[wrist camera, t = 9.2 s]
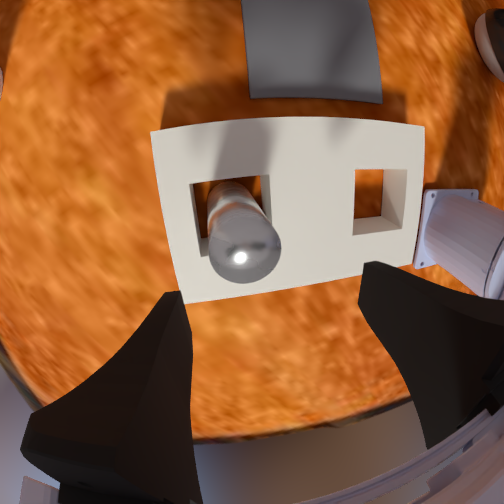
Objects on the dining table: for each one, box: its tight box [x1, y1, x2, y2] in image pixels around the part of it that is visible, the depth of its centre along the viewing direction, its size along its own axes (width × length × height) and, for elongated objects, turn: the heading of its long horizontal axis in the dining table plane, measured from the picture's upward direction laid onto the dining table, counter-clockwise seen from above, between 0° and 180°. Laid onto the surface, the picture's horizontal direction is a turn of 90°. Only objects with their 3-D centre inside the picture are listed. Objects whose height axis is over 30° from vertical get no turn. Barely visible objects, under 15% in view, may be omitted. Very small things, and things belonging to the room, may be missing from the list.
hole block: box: [150, 117, 425, 304], centre depth 17 cm, size 18×11×3 cm, turn 94°
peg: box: [207, 181, 281, 284], centre depth 15 cm, size 3×3×8 cm
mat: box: [241, 0, 383, 104], centre depth 14 cm, size 10×10×1 cm
